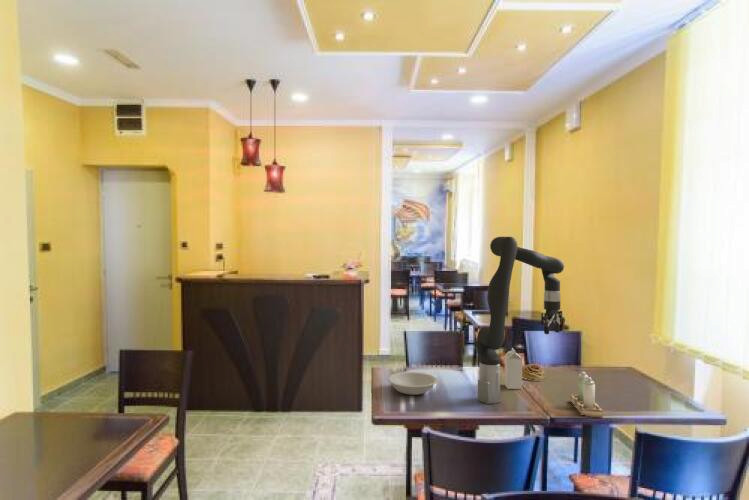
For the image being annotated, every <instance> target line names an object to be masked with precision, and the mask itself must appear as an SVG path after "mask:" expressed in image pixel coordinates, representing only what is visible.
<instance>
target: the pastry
mask: <svg viewBox="0 0 749 500" xmlns="http://www.w3.org/2000/svg"><path fill="white" fill-rule="evenodd" d="M545 375H546V373H545V371H544V369H543V368H542V367H541V366H540V364H538V363H530V364H526V365H525V366H522V377H524V378H527V379H531V380H542V381H543V380H544V379H545V378H544V377H546V376H545ZM542 378H544V379H542Z"/></svg>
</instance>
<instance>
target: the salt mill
mask: <svg viewBox="0 0 749 500" xmlns="http://www.w3.org/2000/svg"><path fill="white" fill-rule="evenodd" d="M595 400H596V384H595V381H594V380H593V379H592V377H591V376H588V378H587V380H585V382H584V386H583V407H584V408H589V409H595V402H596V401H595Z"/></svg>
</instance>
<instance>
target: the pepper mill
mask: <svg viewBox="0 0 749 500" xmlns="http://www.w3.org/2000/svg"><path fill="white" fill-rule="evenodd" d="M588 377H589V376H588V374H587V373H586V371H581V372H580V373H579V374H578V376H577V395H578V401H583V386H584V382H585V380H587V378H588Z"/></svg>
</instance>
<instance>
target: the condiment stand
mask: <svg viewBox="0 0 749 500" xmlns="http://www.w3.org/2000/svg"><path fill="white" fill-rule="evenodd" d="M569 399H570V400H571V401H572V402H573V404H574V405H575V406H576V407H577V409H578V410H579V411H580V413H581V414H582V415H586V416H585V417H588V416H590V417H591V418H603V417H604V412H603V410H604V409H602V408H601V406H600V405H599V404H598V403H597V402H596V401H595V409H589V408H584V407H583V401H578V394H570V398H569ZM571 401H570V402H571ZM573 404H572V405H573ZM574 405H573V406H574ZM575 406H574V407H575ZM577 409H576V410H577ZM578 410H577V411H578ZM580 413H579V414H580ZM581 414H580V415H581ZM582 415H581V416H582Z"/></svg>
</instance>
